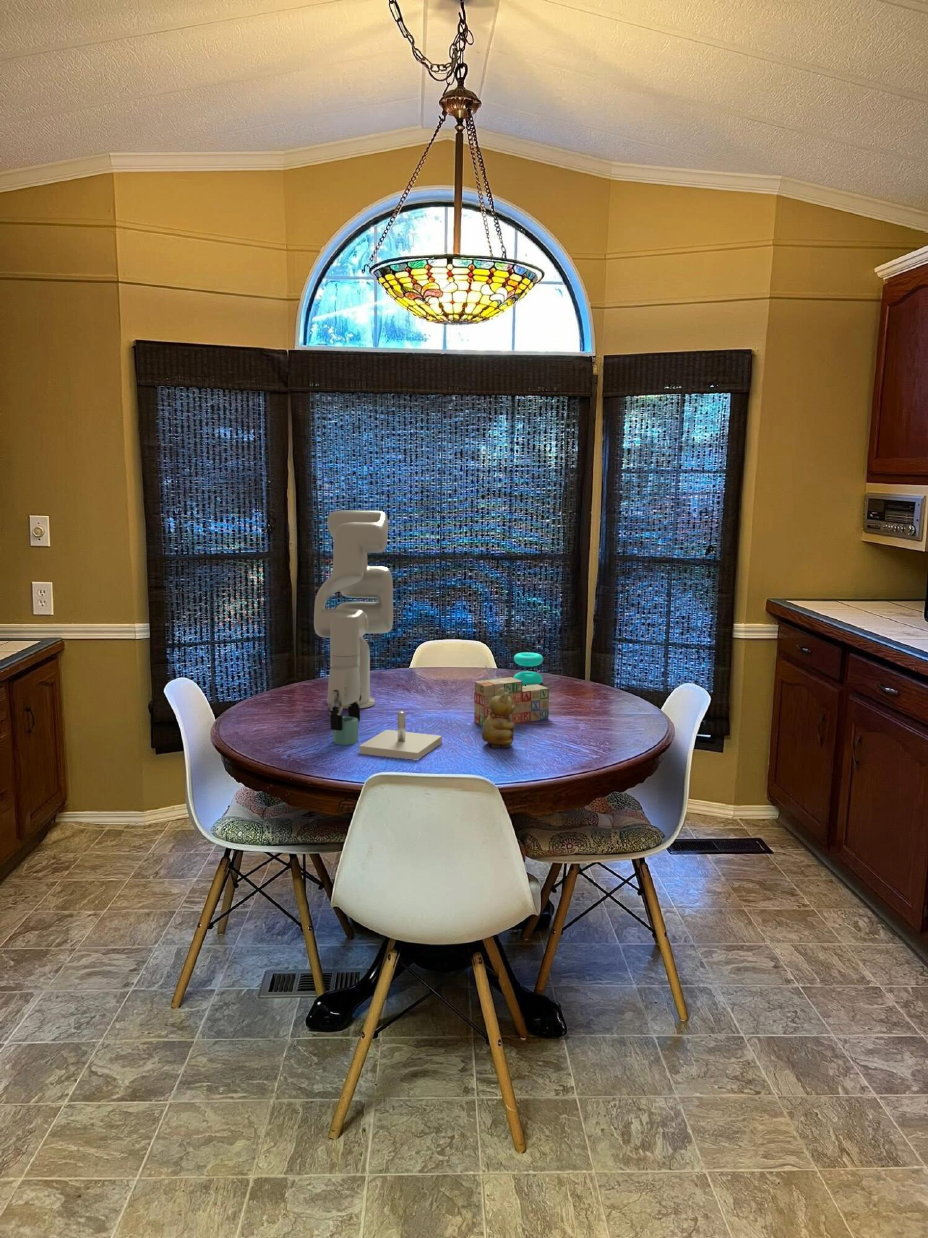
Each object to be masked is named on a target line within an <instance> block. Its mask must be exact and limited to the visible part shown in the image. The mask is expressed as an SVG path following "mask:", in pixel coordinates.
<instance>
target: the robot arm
mask: <svg viewBox="0 0 928 1238" xmlns="http://www.w3.org/2000/svg"><path fill="white" fill-rule="evenodd" d="M327 528H328V530H329V533H330V535H331V538H332V539H333V549H332V550H333V551H332V573H331V575H330V576H329V577H328V578H327V579H326V580H325V581H324V582H323V584H322V585H321V586H320V587H319V589H318V591H317V593H316V597H315V600H314V608H313V609H314V613H313V628H314V632H315V633H316V635H317V636H318V637H321V638H329V650H330V651H329V653H330V655H329V656H330V659H329V660H330V664H329V665H330V669H329V674H328V685H327V701H326V705H327V710H328V712H329V713H328V714H329V716H330V717H329V719H330V730H331V731H333V730H338V731H341V730H342V729H343V714H342V713H343V709H345V710H348V711H347V712H348V714H347V716H350V717H356V718H357V719H358V723H359V722H361V709H366V708H370V707H372V706H374V705H376V700H375V699H374V698H373V697H371V684H370V683H371V682H370V681H371V680H370V679H371V673H370V671H371V670H370V668H371V667H370V663H371V661H370V660H371V659H370V658H371V657H370V654H371V653H370V652H371V651H370V650H371V649H370V646H369V643H368V642H367V641H366V639H365V638H364V637H363V636H364V635H365V634H386V633H387V634H388V633H389V632H390V631H392V628H393V626H394V589H393V588H394V587H393V585H394V584H393V576H392V572H391V570H390V569H389V568H388V567H385V566H383V565H382V566H381V565H380V566H379V565H378V566H377V565H374V566H373V565H371V566H370V565H368V553H369V554H370V553H371V554H375V553H376V554H379V553H380V554H381V553H383V552H385V550H386V547H387V544H388V537H389V535H388V534H389V518H388V516H387V514H386V513H385V512H383V511H380V510H357V509H354V510H350V509H349V510H348V509H347V510H345V509H343V510H335V511H332V512H330V513H329V514H328V516H327ZM338 592H340V594H341V595H342V596H343V597H345V598H350V599H352V598H355V599H359V598H360V599H375V600H377V601H347V602H341V603H340V604H338V605H337V606H336V608H335V609H334V608H333V609H332V608H329V609H328V608H327V609H326V604H327V601H328V600H330V599H329V598H331V597H332V596H333V595H334V594H335V593H338Z"/></svg>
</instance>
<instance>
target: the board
mask: <svg viewBox="0 0 928 1238" xmlns="http://www.w3.org/2000/svg"><path fill="white" fill-rule="evenodd" d="M441 743H442V744H443V736H442V735H437V734H428V733H421V732H411V731H406V711H401V710H400V711H397V730H392V729H385V730H384V731H382V732H380V733H378V734H376V735H375V736H373V737H372V738H370V739H368V740H367V741H365V742H363V743H362V744H360V745H359V746H358V749H359V751H358V752H359V755H368V756H376V757H384V756H385V757H386V758H392V757H393V758H394V759H399V758H406V759H405V760H407V759H419V758H421V757H422V756H424V755H425V754H427V753H428V752H429V753H430V751H431V750H432V749H433V750H435V749H436V748H437V747H436V746H438V745H439V746H440V745H442V744H441ZM439 746H438V747H439ZM435 747H436V748H435ZM434 748H435V749H434ZM433 750H432V751H433ZM432 751H431V752H432ZM429 753H428V754H429ZM428 754H427V755H428ZM425 756H426V755H425ZM425 756H424V757H425ZM385 757H384V758H385ZM393 758H392V759H393ZM422 758H423V757H422ZM422 758H421V759H422Z"/></svg>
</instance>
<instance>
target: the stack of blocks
mask: <svg viewBox="0 0 928 1238" xmlns="http://www.w3.org/2000/svg"><path fill="white" fill-rule="evenodd" d="M522 682H523V681H520V680H518V679H515V678H514V677H511V676H510V677H503V678H499V679H492V680H489V679H483V680H475V681H474V693H473V699H474V700H473V701H474V705H473V706H474V714H473V717H474V719H473V720H474V721H473V722H474V723H475V724H477V725H478V724H479V726H481V727H482V728H483V725H484V723H485V721H486V720H487V717H488V715H489V713H490V711H491V710H490V701H491V699H492V698H493V697H495V695H496V692H497V691H498V690H499V689H500V688H504V689H505V690H504V692H509V697H510V698H511V699H512V701H513V702H514V705H515V710H514V711H513V713H512V714H510V715H509V718H510V720H511V722H512V723H514V724H515V725H516V724H520V723H528V722H529V723H530V722H535V721H544V720H548V719H549V717H550V716H549V714H550V709H549V708H550V688H549V687H546V686H544V685H541V684H536V685H526V686H525V685H522Z"/></svg>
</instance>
